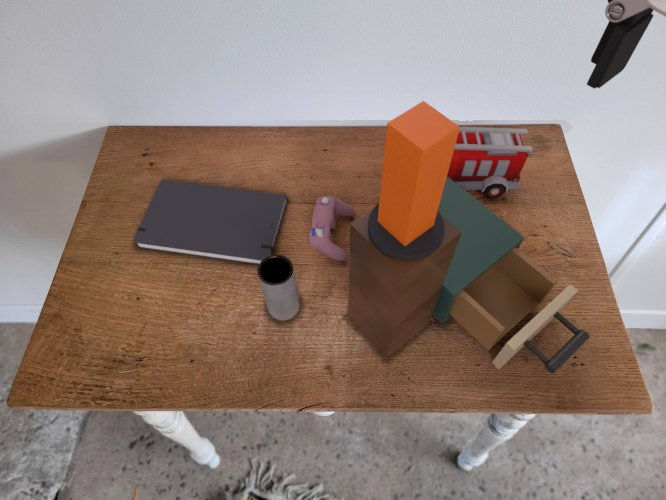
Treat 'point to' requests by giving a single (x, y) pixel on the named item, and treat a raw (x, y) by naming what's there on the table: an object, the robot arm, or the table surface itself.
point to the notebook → (212, 221)
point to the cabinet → (471, 243)
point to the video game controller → (328, 226)
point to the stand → (394, 286)
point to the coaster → (414, 249)
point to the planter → (279, 286)
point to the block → (415, 170)
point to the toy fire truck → (488, 159)
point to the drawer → (515, 309)
